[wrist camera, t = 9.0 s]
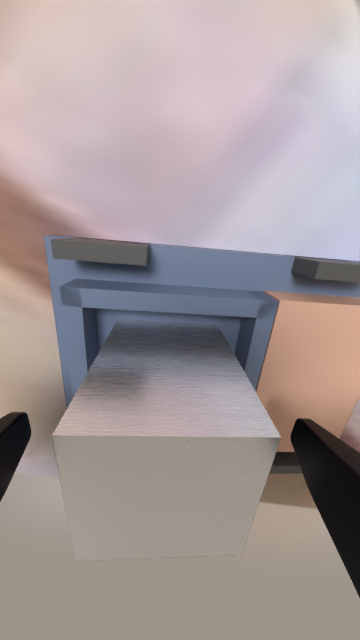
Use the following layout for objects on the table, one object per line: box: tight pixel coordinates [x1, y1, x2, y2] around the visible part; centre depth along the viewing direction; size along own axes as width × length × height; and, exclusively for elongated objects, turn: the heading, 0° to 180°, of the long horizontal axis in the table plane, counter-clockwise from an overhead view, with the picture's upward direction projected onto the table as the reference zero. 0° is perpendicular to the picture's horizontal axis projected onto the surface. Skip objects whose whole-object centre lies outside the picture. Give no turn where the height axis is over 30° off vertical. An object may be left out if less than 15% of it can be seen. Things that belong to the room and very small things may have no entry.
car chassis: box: [44, 235, 360, 473], centre depth 11 cm, size 14×11×3 cm
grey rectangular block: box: [52, 319, 281, 561], centre depth 8 cm, size 4×4×6 cm
